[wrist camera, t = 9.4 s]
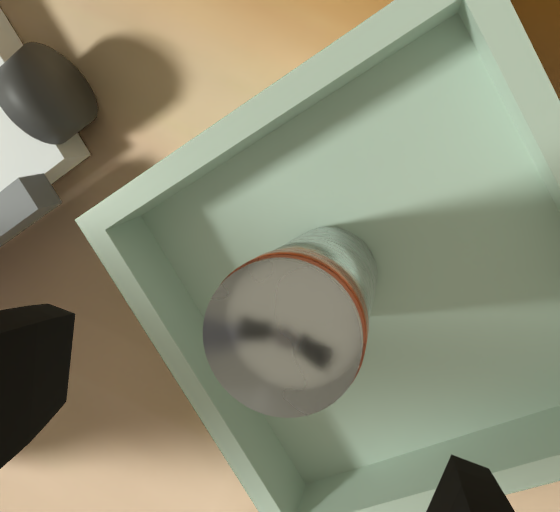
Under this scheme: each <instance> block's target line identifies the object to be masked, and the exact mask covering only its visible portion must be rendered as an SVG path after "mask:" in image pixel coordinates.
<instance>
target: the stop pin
mask: <svg viewBox="0 0 560 512" xmlns="http://www.w3.org/2000/svg"><path fill="white" fill-rule="evenodd" d="M377 279H378V275H377V266H376V262H375V259H374V256H373V254H372V252H371V251H370V249H369V248H368V246H367V245H366V244H365V243H364V242H363V241H362V240H361V239H360V238H359V237H358V236H356V235H355V234H353V233H351V232H350V231H347V230H345V229H342V228H338V227H318V228H314V229H311V230H309V231H307V232H305V233H303V234H301V235H299V236H298V237H296V238H294V239H292V240H290V241H289V242H287V243H285V244H283V245H282V246H280V247H278V248H276V249H274V250H273V251H269V252H266V253H264V254H262V255H259V256H257V257H256V258H254V259H252V260H250V261H248V262H246V263H245V264H243V265H241V266H240V267H238V268H236V269H235V270H234V271H233V272H231V273H230V274H229V275H228V276H227V277H226V278H225V279H224V280H223V281H222V283H221V284H220V286H219V287H218V288H217V290H216V291H215V293H214V294H213V296H212V298H211V300H210V302H209V304H208V307H207V309H206V312H205V317H204V322H203V344H204V349H205V354H206V357H207V360H208V363H209V365H210V367H211V370H212V372H213V373H214V375H215V377H216V378H217V380H218V381H219V382H220V384H221V385H222V386H223V388H224V389H225V390H226V391H227V392H228V393H229V394H230V395H231V396H232V397H234V398H235V399H236V400H237V401H239V402H240V403H242V404H243V405H245V406H246V407H248V408H250V409H252V410H254V411H257V412H259V413H262V414H265V415H269V416H274V417H282V418H296V417H303V416H308V415H311V414H314V413H317V412H319V411H321V410H323V409H325V408H327V407H328V406H330V405H331V404H333V403H334V402H336V401H337V400H338V399H339V398H340V397H341V396H342V395H343V394H344V393H345V392H346V390H347V389H348V388H349V386H350V385H351V384H352V383H353V381H354V379H355V378H356V376H357V375H358V372H359V370H360V368H361V365H362V362H363V358H364V355H365V350H366V345H367V339H368V332H369V319H370V314H371V309H372V305H373V300H374V295H375V290H376V286H377Z"/></svg>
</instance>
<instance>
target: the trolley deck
mask: <svg viewBox="0 0 560 512" xmlns="http://www.w3.org/2000/svg"><path fill="white" fill-rule="evenodd" d="M97 112H98V107H97V101H96V98H95V95H94V93H93V91H92V89H91V87H90V86H89V84H88V82H87V81H86V79H85V78H84V77H83V75H82V74H81V73H80V72H79V70H78V69H77V68H76V67H75V66H74V65H73V64H72V63H71V62H70V61H69V60H67V59H66V58H65V57H64V56H63V55H61V54H60V53H58V52H57V51H55V50H54V49H52V48H50V47H48V46H46V45H43V44H40V43H35V42H30V43H26V44H24V45H23V44H22V42H21V40H20V39H19V37H18V36H17V34H16V32H15V31H14V29H13V27H12V26H11V24H10V23H9V21H8V19H7V18H6V16H5V14H4V13H3V11H2V10H1V8H0V247H1V246H2V245H4V244H5V243H6V242H8V241H9V240H11V239H12V238H13V237H15V236H16V235H18V234H19V233H20V232H22V231H23V230H25V229H26V228H27V227H29V226H30V225H32V224H33V223H34V222H36V221H37V220H39V219H40V218H41V217H43V216H44V215H46V214H47V213H48V212H50V211H51V210H53V209H54V208H55V207H57V206H58V205H60V204H61V203H62V201H61V200H60V198H59V196H58V195H57V193H56V192H55V190H54V189H53V187H52V185H51V184H52V183H54V182H55V181H56V180H58V179H59V178H60V177H62V176H63V175H64V174H66V173H67V172H68V171H70V170H71V169H72V168H74V167H75V166H76V165H78V164H79V163H81V162H82V161H83V160H85V159H86V158H87V157H89V156H90V155H91V154H90V152H89V151H88V149H87V148H86V146H85V144H84V143H83V141H82V139H81V138H80V136H79V135H78V132H79V131H80V130H82V129H83V128H84V127H86V126H87V125H88V124H89V123H91V122H92V121H93V120H94V119H95V118H96V116H97Z"/></svg>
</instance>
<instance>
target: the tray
mask: <svg viewBox="0 0 560 512" xmlns="http://www.w3.org/2000/svg"><path fill="white" fill-rule="evenodd" d="M75 221H76V223H77V224H78V226H79V227H80V229H81V231H82V232H83V234H84V235H85V237H86V238H87V240H88V242H89V243H90V245H91V246H92V248H93V250H94V251H95V253H96V254H97V256H98V257H99V259H100V261H101V262H102V264H103V265H104V267H105V269H106V270H107V272H108V273H109V275H110V277H111V278H112V280H113V281H114V283H115V284H116V286H117V288H118V289H119V291H120V292H121V294H122V296H123V297H124V299H125V300H126V302H127V303H128V305H129V307H130V308H131V310H132V311H133V313H134V315H135V316H136V318H137V319H138V321H139V323H140V324H141V326H142V327H143V329H144V330H145V332H146V334H147V335H148V337H149V338H150V340H151V342H152V343H153V345H154V346H155V348H156V350H157V351H158V353H159V354H160V356H161V357H162V359H163V361H164V362H165V364H166V365H167V367H168V369H169V370H170V372H171V373H172V375H173V376H174V378H175V380H176V381H177V383H178V384H179V386H180V388H181V389H182V391H183V392H184V394H185V396H186V397H187V399H188V400H189V402H190V403H191V405H192V407H193V408H194V410H195V411H196V413H197V415H198V416H199V418H200V419H201V421H202V422H203V424H204V426H205V427H206V429H207V430H208V432H209V434H210V435H211V437H212V438H213V440H214V442H215V443H216V445H217V446H218V448H219V449H220V451H221V453H222V454H223V456H224V457H225V459H226V461H227V462H228V464H229V465H230V467H231V468H232V470H233V472H234V473H235V475H236V476H237V478H238V480H239V481H240V483H241V484H242V486H243V488H244V489H245V491H246V492H247V494H248V495H249V497H250V499H251V500H252V502H253V503H254V505H255V507H256V508H257V510H258V511H259V512H426V511H427V509H428V506H429V504H430V502H431V500H432V497H433V495H434V493H435V491H436V488H437V486H438V484H439V481H440V479H441V477H442V475H443V472H444V470H445V468H446V466H447V463H448V461H449V459H450V456H451V454H452V455H454V456H457V457H460V458H462V459H465V460H468V461H470V462H473V463H476V464H478V465H481V466H484V467H486V468H489V469H490V471H491V473H492V474H493V476H494V477H495V479H496V481H497V482H498V484H499V486H500V487H501V489H502V491H503V492H504V494H505V495H507V494H511V493H515V492H518V491H522V490H526V489H530V488H534V487H538V486H542V485H546V484H550V483H553V482H557V481H560V101H559V99H558V97H557V94H556V92H555V90H554V88H553V86H552V84H551V82H550V80H549V78H548V76H547V74H546V72H545V70H544V68H543V66H542V64H541V62H540V60H539V58H538V56H537V54H536V52H535V50H534V48H533V46H532V44H531V42H530V40H529V38H528V36H527V34H526V32H525V30H524V28H523V25H522V23H521V21H520V19H519V17H518V15H517V13H516V11H515V9H514V7H513V5H512V3H511V1H510V0H394V1H393V2H391V3H390V4H389V5H387V6H386V7H384V8H383V9H381V10H380V11H378V12H377V13H375V14H374V15H372V16H371V17H370V18H368V19H367V20H365V21H364V22H362V23H361V24H359V25H358V26H356V27H355V28H354V29H352V30H351V31H349V32H348V33H346V34H345V35H343V36H342V37H340V38H339V39H337V40H336V41H335V42H333V43H332V44H330V45H329V46H327V47H326V48H324V49H323V50H321V51H320V52H318V53H317V54H316V55H314V56H313V57H311V58H310V59H308V60H307V61H305V62H304V63H302V64H301V65H300V66H298V67H297V68H295V69H294V70H292V71H291V72H289V73H288V74H286V75H285V76H283V77H282V78H281V79H279V80H278V81H276V82H275V83H273V84H272V85H270V86H269V87H267V88H266V89H265V90H263V91H262V92H260V93H259V94H257V95H256V96H254V97H253V98H251V99H250V100H248V101H247V102H246V103H244V104H243V105H241V106H240V107H238V108H237V109H235V110H234V111H232V112H231V113H230V114H228V115H227V116H225V117H224V118H222V119H221V120H219V121H218V122H216V123H215V124H213V125H212V126H211V127H209V128H208V129H206V130H205V131H203V132H202V133H200V134H199V135H197V136H196V137H195V138H193V139H192V140H190V141H189V142H187V143H186V144H184V145H183V146H181V147H180V148H178V149H177V150H176V151H174V152H173V153H171V154H170V155H168V156H167V157H165V158H164V159H162V160H161V161H160V162H158V163H157V164H155V165H154V166H152V167H151V168H149V169H148V170H146V171H145V172H143V173H142V174H141V175H139V176H138V177H136V178H135V179H133V180H132V181H130V182H129V183H127V184H126V185H125V186H123V187H122V188H120V189H119V190H117V191H116V192H114V193H113V194H111V195H110V196H108V197H107V198H106V199H104V200H103V201H101V202H100V203H98V204H97V205H95V206H94V207H92V208H91V209H90V210H88V211H87V212H85V213H84V214H82V215H81V216H79V217H78V218H76V219H75ZM318 227H338V228H342V229H345V230H347V231H350V232H351V233H353V234H355V235H356V236H358V237H359V238H360V239H361V240H362V241H363V242H364V243H365V244H366V245H367V246H368V248H369V249H370V251H371V252H372V254H373V256H374V259H375V262H376V266H377V275H378V279H377V286H376V290H375V295H374V300H373V305H372V309H371V314H370V319H369V332H368V339H367V345H366V350H365V355H364V358H363V362H362V365H361V368H360V370H359V372H358V375H357V376H356V378H355V379H354V381H353V383H352V384H351V385H350V386H349V388H348V389H347V390H346V392H345V393H344V394H343V395H342V396H341V397H340V398H339V399H338V400H337V401H336V402H334V403H333V404H331V405H330V406H328V407H327V408H325V409H323V410H321V411H319V412H317V413H314V414H311V415H308V416H303V417H296V418H282V417H274V416H269V415H265V414H262V413H259V412H257V411H254V410H252V409H250V408H248V407H246V406H245V405H243V404H242V403H240V402H239V401H237V400H236V399H235V398H234V397H232V396H231V395H230V394H229V393H228V392H227V391H226V390H225V389H224V388H223V386H222V385H221V384H220V382H219V381H218V380H217V378H216V377H215V375H214V373H213V372H212V370H211V367H210V365H209V363H208V360H207V357H206V354H205V349H204V344H203V322H204V317H205V312H206V309H207V307H208V304H209V302H210V300H211V298H212V296H213V294H214V293H215V291H216V290H217V288H218V287H219V286H220V284H221V283H222V281H223V280H224V279H225V278H226V277H227V276H228V275H229V274H230V273H231V272H233V271H234V270H235V269H236V268H238V267H240V266H241V265H243V264H245V263H246V262H248V261H250V260H252V259H254V258H256V257H257V256H259V255H262V254H264V253H266V252H269V251H273V250H274V249H276V248H278V247H280V246H282V245H283V244H285V243H287V242H289V241H290V240H292V239H294V238H296V237H298V236H299V235H301V234H303V233H305V232H307V231H309V230H311V229H314V228H318Z"/></svg>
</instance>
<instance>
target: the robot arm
mask: <svg viewBox="0 0 560 512" xmlns="http://www.w3.org/2000/svg"><path fill="white" fill-rule="evenodd" d="M74 320H75V314H74V313H71V312H69V311H66V310H63V309H61V308H58V307H55V306H53V305H50V304H41V305H31V306H24V307H18V308H12V309H6V310H0V469H1V468H2V467H3V466H4V465H5V464H6V463H7V462H9V461H10V460H11V459H12V458H13V457H14V456H15V455H16V454H18V453H19V452H20V451H21V450H22V449H23V448H24V447H25V446H26V445H28V444H29V443H30V442H31V440H32V439H33V438H34V437H35V436H36V435H37V434H38V433H39V432H40V431H41V430H42V429H43V428H44V426H45V425H46V424H47V423H48V422H49V421H50V420H51V419H52V417H53V416H54V415H55V414H56V413H57V412H58V410H59V409H60V408H61V407H62V406H63V405H64V404H65V402H66V399H67V389H68V379H69V369H70V359H71V349H72V339H73V330H74ZM426 512H515V511H514V510H513V508H512V506H511V505H510V503H509V501H508V499H507V498H506V496H505V494H504V492H503V491H502V489H501V487H500V486H499V484H498V482H497V481H496V479H495V477H494V476H493V474H492V473H491V471H490V469H489V468H486V467H484V466H481V465H478V464H476V463H473V462H470V461H468V460H465V459H462V458H460V457H457V456H454V455H452V454H451V456H450V459H449V461H448V463H447V466H446V468H445V470H444V472H443V475H442V477H441V479H440V481H439V484H438V486H437V488H436V491H435V493H434V495H433V497H432V500H431V502H430V504H429V506H428V509H427V511H426Z"/></svg>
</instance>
